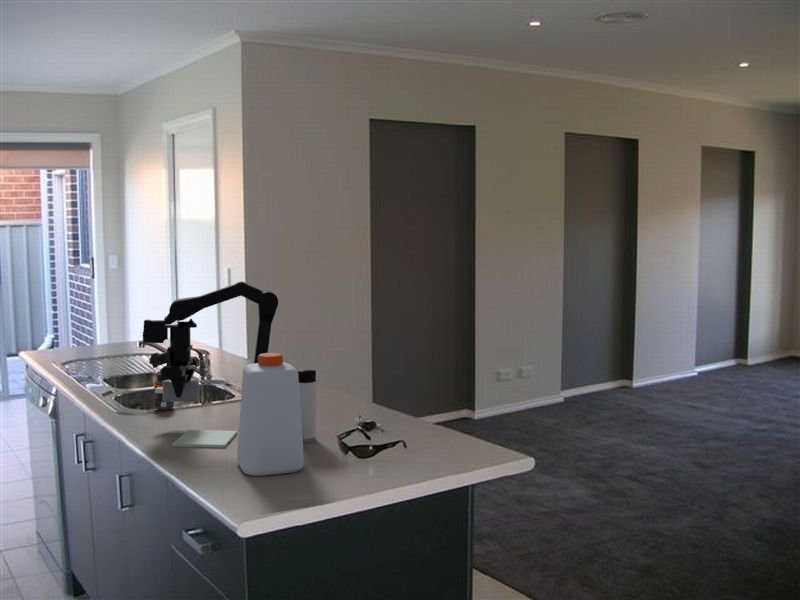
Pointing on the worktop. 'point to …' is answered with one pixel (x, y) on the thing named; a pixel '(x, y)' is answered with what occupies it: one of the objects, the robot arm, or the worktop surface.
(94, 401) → the worktop surface
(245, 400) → the plastic bottle
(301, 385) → the travel mug
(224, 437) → the sage board
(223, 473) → the worktop surface
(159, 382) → the supplement bottle
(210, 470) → the worktop surface
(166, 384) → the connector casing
